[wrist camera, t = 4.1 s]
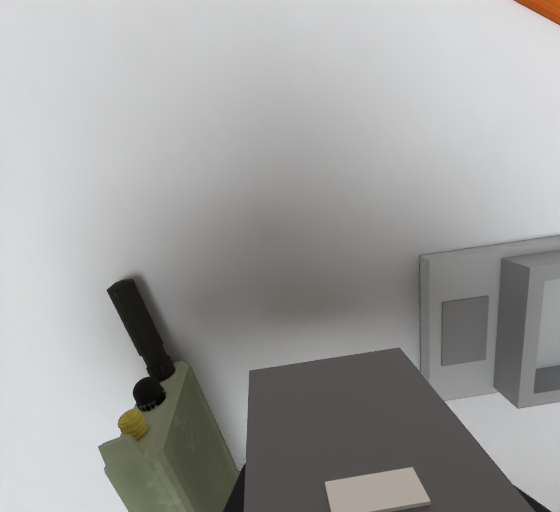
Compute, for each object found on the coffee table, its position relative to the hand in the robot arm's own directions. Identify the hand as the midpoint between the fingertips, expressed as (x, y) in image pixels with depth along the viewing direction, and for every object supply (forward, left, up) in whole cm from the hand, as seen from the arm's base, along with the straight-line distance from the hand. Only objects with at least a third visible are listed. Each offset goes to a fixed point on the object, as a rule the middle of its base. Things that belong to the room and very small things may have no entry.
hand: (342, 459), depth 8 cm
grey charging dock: (-2, -14, -9) cm, 17 cm away
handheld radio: (-9, +7, -10) cm, 15 cm away
